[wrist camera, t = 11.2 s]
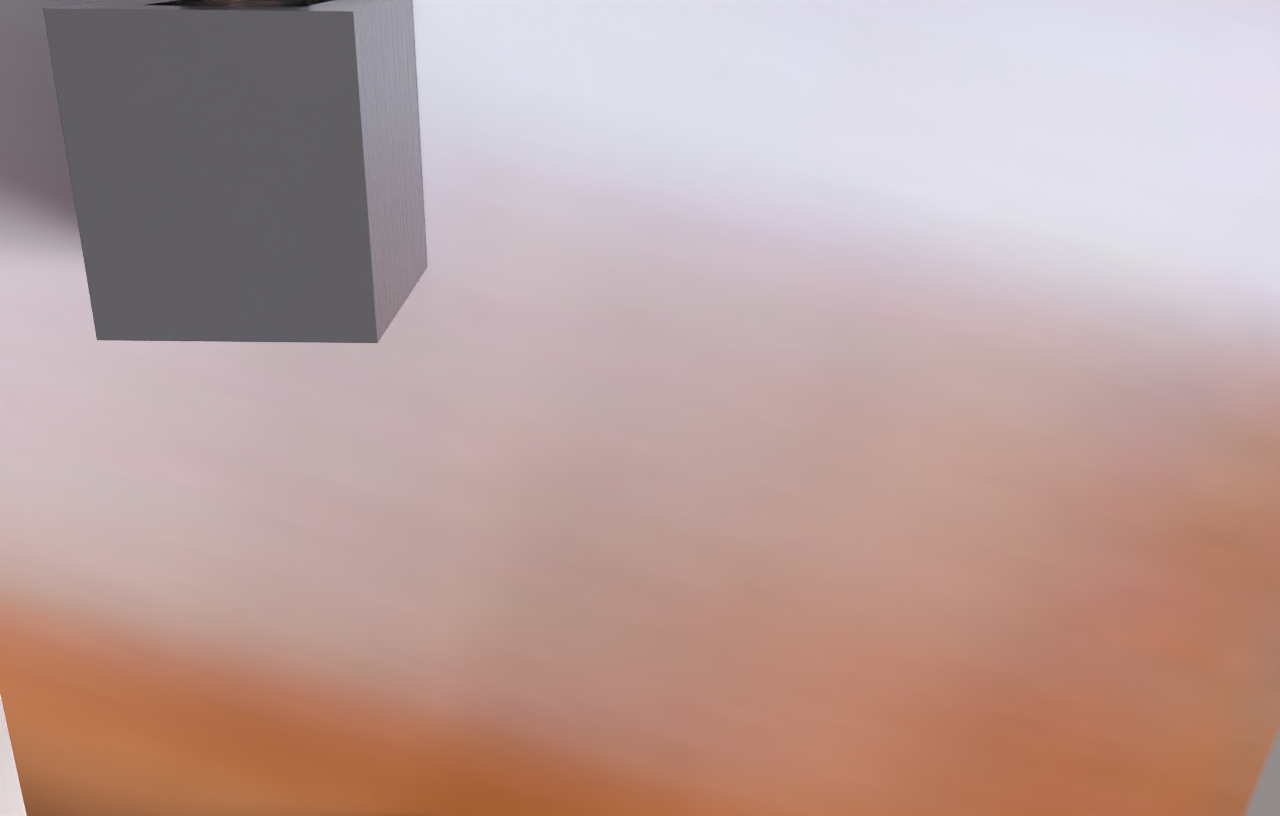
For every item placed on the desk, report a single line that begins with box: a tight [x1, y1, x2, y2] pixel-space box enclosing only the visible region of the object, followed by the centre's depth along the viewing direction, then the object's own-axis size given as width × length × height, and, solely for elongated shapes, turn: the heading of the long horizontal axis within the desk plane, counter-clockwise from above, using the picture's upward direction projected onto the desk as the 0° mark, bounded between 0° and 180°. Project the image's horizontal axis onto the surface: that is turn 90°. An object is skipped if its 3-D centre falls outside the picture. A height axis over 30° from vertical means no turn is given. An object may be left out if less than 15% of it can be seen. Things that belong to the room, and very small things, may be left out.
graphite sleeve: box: [43, 0, 427, 343], centre depth 37 cm, size 9×8×8 cm
